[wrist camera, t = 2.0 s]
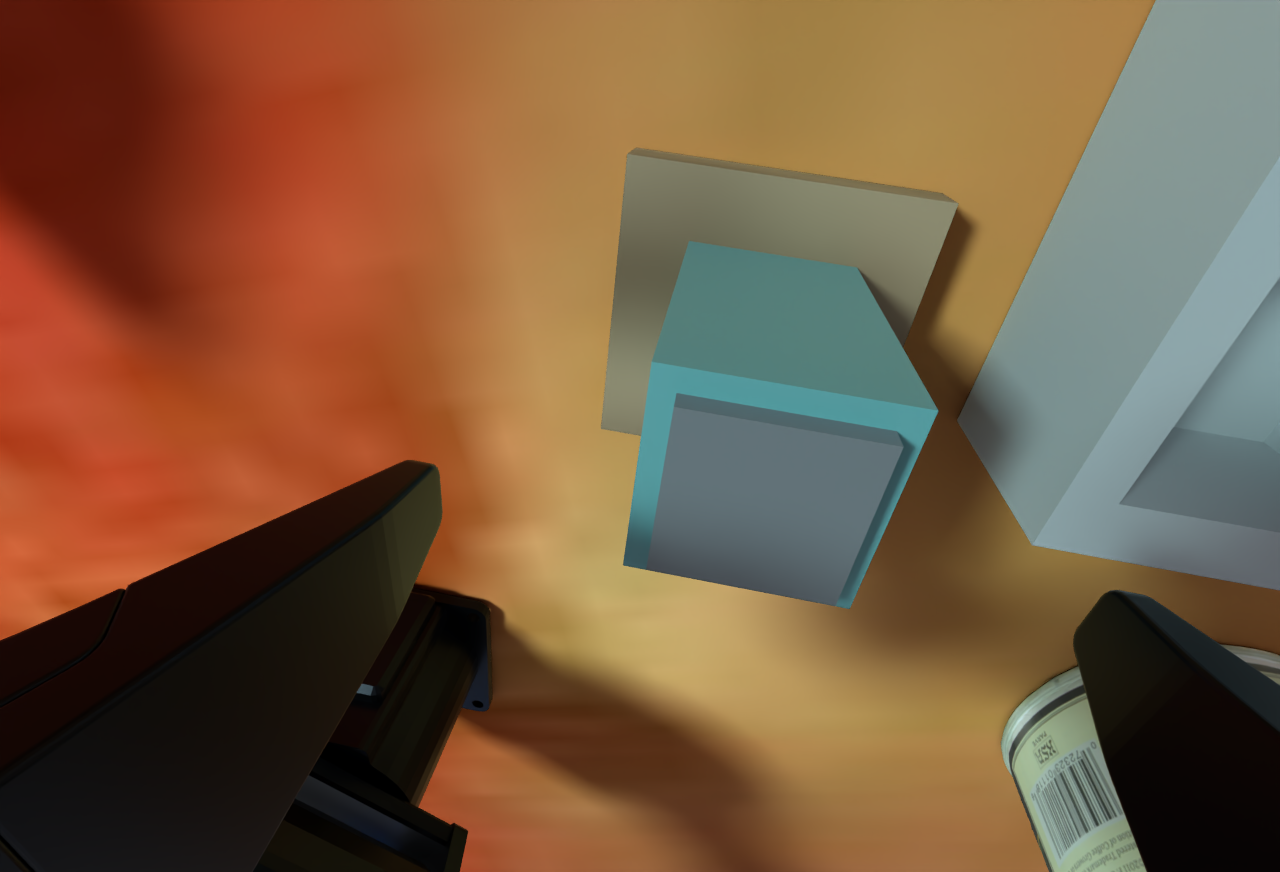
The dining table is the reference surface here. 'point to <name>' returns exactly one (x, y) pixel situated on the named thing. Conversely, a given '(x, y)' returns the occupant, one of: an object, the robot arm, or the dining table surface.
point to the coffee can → (1077, 775)
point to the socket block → (1155, 317)
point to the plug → (773, 428)
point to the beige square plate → (755, 246)
